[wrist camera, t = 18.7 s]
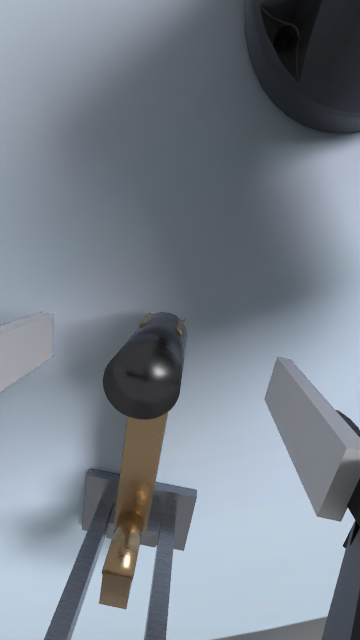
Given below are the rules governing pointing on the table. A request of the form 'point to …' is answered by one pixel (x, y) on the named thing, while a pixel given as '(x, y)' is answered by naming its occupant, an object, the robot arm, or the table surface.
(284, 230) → the table surface
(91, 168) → the table surface
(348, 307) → the table surface
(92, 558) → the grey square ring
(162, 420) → the hook bar
